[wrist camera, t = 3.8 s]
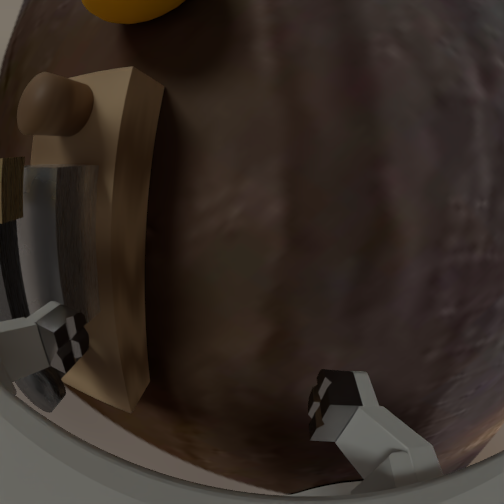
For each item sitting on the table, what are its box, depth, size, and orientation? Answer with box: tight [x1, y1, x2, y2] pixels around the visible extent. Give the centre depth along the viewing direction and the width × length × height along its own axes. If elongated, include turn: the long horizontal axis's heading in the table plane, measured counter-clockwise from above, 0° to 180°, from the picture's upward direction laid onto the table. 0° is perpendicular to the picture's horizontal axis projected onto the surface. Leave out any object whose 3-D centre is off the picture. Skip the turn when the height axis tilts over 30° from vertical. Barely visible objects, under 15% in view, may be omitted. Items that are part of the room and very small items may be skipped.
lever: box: [0, 157, 66, 412], centre depth 8 cm, size 13×4×2 cm, turn 171°
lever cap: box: [16, 164, 101, 324], centre depth 11 cm, size 8×5×3 cm, turn 171°
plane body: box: [17, 66, 165, 413], centre depth 13 cm, size 22×7×8 cm, turn 171°
